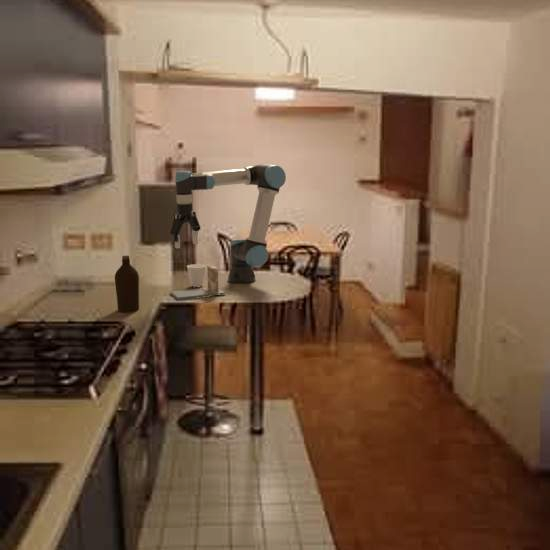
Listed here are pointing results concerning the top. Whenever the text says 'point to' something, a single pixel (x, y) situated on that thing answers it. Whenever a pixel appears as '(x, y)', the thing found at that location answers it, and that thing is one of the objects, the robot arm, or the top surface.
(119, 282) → the olive oil
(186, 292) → the board
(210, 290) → the stub
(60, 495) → the top surface
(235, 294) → the top surface
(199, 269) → the cup
